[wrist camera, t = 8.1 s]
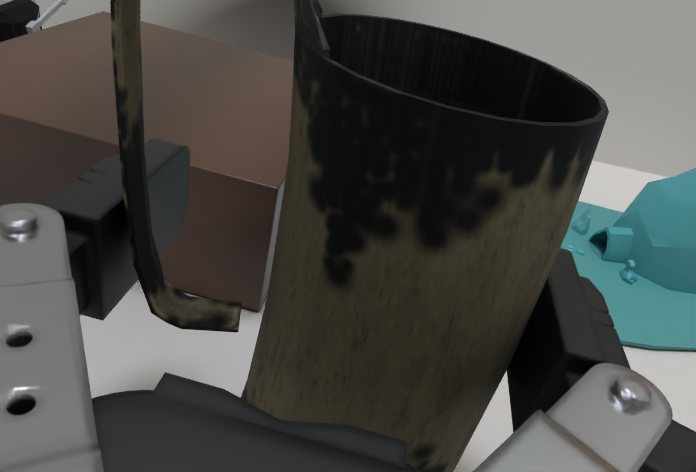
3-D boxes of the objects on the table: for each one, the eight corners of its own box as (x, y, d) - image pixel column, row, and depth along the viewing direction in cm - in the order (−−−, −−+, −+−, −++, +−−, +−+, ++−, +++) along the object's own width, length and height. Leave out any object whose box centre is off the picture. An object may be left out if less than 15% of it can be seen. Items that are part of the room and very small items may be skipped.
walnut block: (-91, 215, 20) (-127, 79, 17) (106, 103, 31) (103, 10, 28) (258, 312, 19) (278, 189, 16) (330, 164, 30) (349, 75, 27)
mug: (411, 395, 17) (571, -1, 11) (454, 583, 13) (768, 92, 6) (152, 376, 16) (162, -93, 10) (96, 580, 11) (43, -58, 5)
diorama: (375, 173, 30) (418, 11, 26) (686, 220, 34) (772, 86, 29) (418, 327, 20) (501, 106, 16) (852, 368, 24) (1022, 201, 19)
